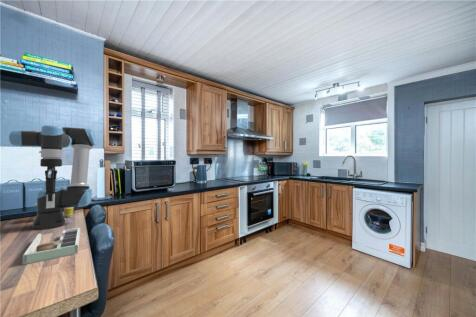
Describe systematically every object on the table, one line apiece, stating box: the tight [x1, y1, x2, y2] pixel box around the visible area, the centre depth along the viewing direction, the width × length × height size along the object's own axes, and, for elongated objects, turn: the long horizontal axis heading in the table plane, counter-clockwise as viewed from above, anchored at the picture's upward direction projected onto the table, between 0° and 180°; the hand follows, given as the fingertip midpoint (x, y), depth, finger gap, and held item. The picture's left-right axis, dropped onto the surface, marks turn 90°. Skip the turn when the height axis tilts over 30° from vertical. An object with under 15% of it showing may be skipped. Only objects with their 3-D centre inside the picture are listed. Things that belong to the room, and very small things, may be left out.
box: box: [22, 227, 81, 266], centre depth 93 cm, size 30×16×4 cm, turn 37°
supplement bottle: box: [63, 207, 75, 218], centre depth 145 cm, size 5×5×10 cm
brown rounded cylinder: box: [35, 242, 55, 252], centre depth 85 cm, size 6×6×4 cm
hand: (50, 207), depth 94 cm, fingers closed
